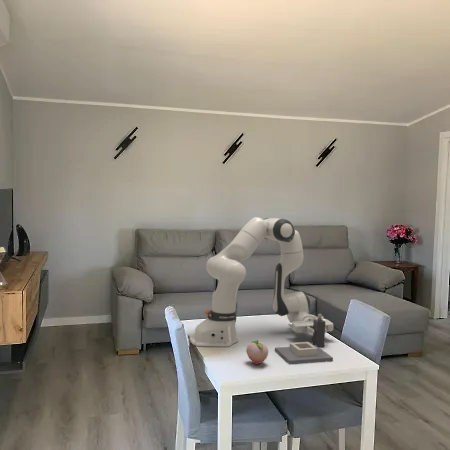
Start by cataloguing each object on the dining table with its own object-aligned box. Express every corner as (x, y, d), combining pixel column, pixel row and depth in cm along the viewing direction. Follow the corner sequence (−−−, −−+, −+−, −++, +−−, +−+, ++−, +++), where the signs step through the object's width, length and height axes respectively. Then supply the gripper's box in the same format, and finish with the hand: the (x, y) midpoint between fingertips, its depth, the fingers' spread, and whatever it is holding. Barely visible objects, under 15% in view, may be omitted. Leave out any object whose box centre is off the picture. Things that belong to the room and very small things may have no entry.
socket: (289, 364, 192) (289, 353, 192) (274, 350, 207) (275, 341, 207) (332, 361, 198) (333, 350, 197) (315, 348, 213) (315, 338, 213)
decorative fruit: (272, 365, 190) (273, 341, 189) (256, 369, 185) (257, 344, 184) (258, 358, 198) (259, 335, 197) (242, 361, 193) (243, 337, 192)
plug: (316, 347, 214) (318, 315, 213) (312, 344, 218) (313, 313, 217) (324, 347, 215) (325, 315, 214) (320, 344, 219) (321, 312, 218)
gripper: (287, 317, 226) (299, 325, 212) (325, 316, 231) (339, 324, 218) (286, 330, 226) (298, 339, 213) (324, 328, 232) (338, 337, 219)
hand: (319, 331), depth 215 cm, fingers closed on plug, 4 cm apart
